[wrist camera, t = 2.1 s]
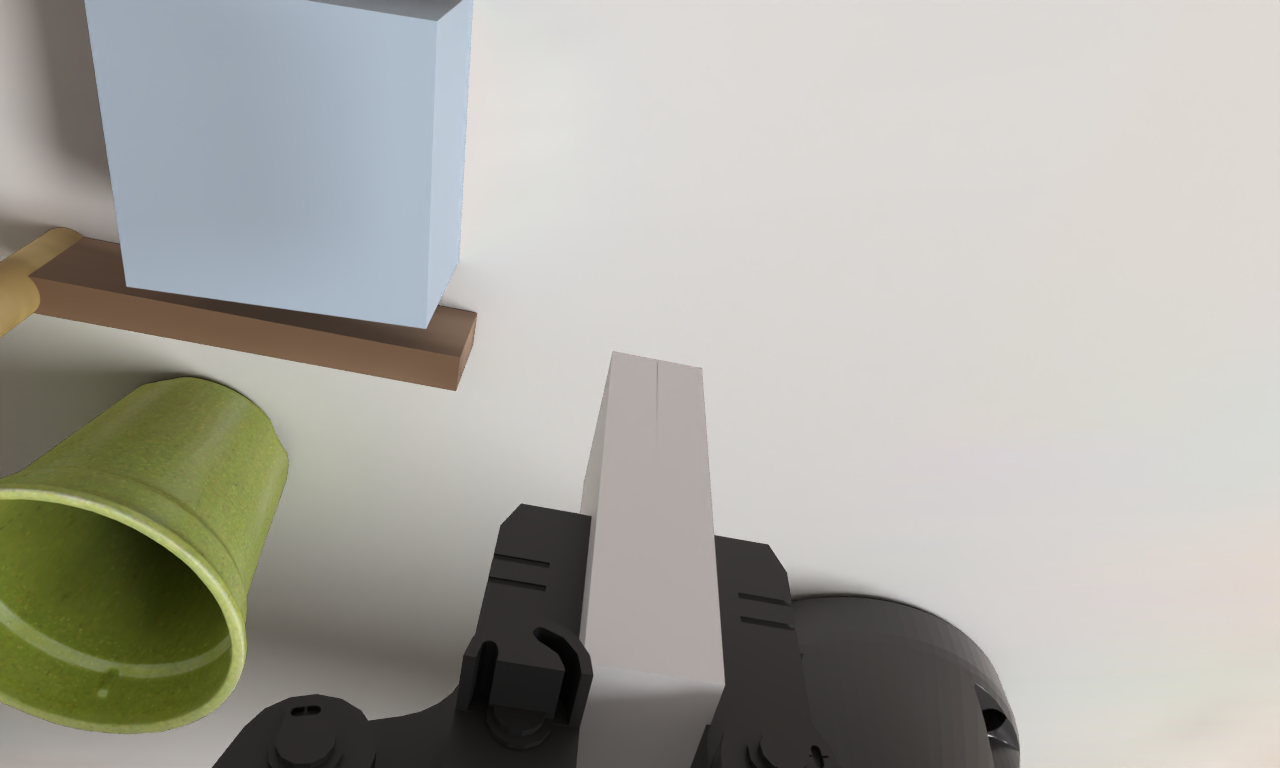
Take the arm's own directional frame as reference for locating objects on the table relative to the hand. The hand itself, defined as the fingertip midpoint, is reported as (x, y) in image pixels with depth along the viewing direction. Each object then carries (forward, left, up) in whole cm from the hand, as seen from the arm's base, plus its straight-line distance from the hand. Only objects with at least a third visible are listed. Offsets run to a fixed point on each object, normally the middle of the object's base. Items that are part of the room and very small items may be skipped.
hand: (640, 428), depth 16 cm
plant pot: (-13, +14, -14) cm, 24 cm away
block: (0, +10, -14) cm, 17 cm away
